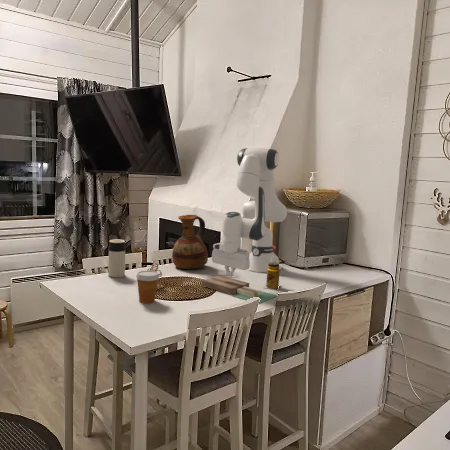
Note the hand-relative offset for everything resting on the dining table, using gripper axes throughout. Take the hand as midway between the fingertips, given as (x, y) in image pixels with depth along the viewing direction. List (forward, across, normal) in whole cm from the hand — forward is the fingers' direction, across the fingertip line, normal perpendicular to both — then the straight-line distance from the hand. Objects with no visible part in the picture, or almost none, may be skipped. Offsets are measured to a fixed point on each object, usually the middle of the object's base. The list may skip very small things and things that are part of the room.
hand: (229, 275), depth 200 cm
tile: (+6, -12, +1) cm, 14 cm away
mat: (+6, -16, +1) cm, 17 cm away
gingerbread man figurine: (+6, +23, +27) cm, 36 cm away
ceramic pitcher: (+7, +41, -16) cm, 44 cm away
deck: (+6, +2, +1) cm, 7 cm away
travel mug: (+6, +52, +26) cm, 58 cm away
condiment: (+7, -13, -18) cm, 23 cm away
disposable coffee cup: (+6, +12, +41) cm, 43 cm away
